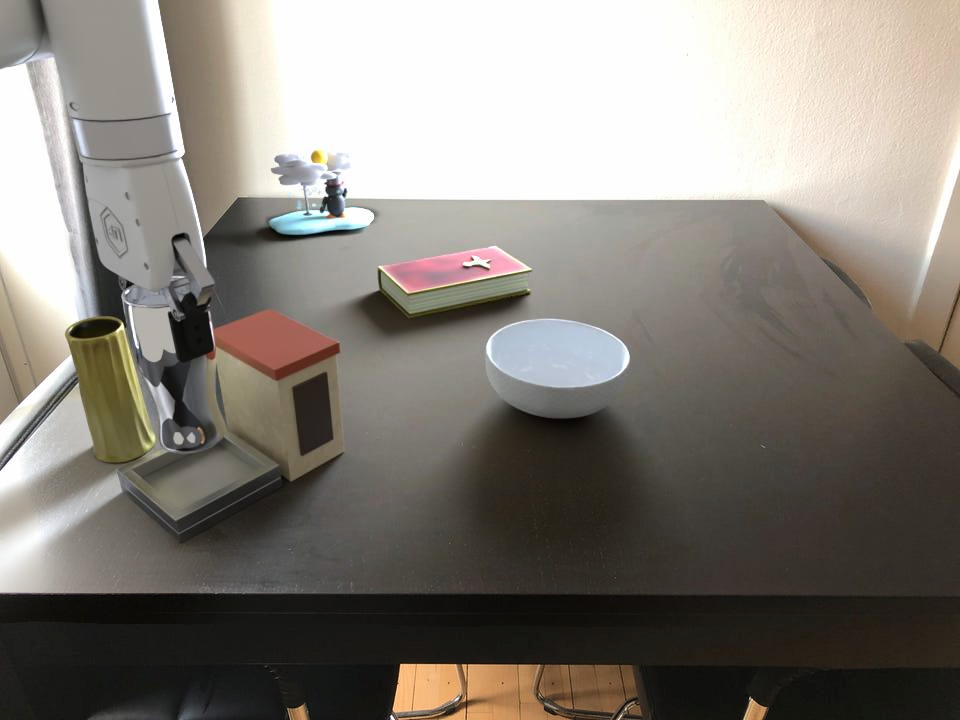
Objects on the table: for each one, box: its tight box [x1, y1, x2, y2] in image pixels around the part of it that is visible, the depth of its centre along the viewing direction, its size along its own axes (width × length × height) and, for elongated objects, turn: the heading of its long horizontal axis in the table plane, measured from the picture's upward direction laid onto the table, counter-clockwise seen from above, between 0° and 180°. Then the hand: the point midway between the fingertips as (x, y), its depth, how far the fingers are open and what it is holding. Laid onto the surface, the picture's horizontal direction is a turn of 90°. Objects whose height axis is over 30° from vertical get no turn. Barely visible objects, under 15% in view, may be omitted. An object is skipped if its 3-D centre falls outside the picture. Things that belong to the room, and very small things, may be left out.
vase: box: [64, 315, 156, 464], centre depth 76 cm, size 6×6×14 cm
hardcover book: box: [377, 245, 533, 319], centre depth 116 cm, size 12×21×4 cm, turn 118°
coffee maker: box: [116, 308, 346, 544], centre depth 73 cm, size 19×12×13 cm, turn 139°
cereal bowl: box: [484, 318, 631, 420], centre depth 87 cm, size 17×17×7 cm
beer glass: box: [121, 275, 228, 454], centre depth 67 cm, size 7×7×15 cm
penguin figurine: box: [268, 149, 375, 236], centre depth 139 cm, size 20×11×15 cm, turn 108°
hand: (172, 340), depth 65 cm, fingers closed on beer glass, 7 cm apart
